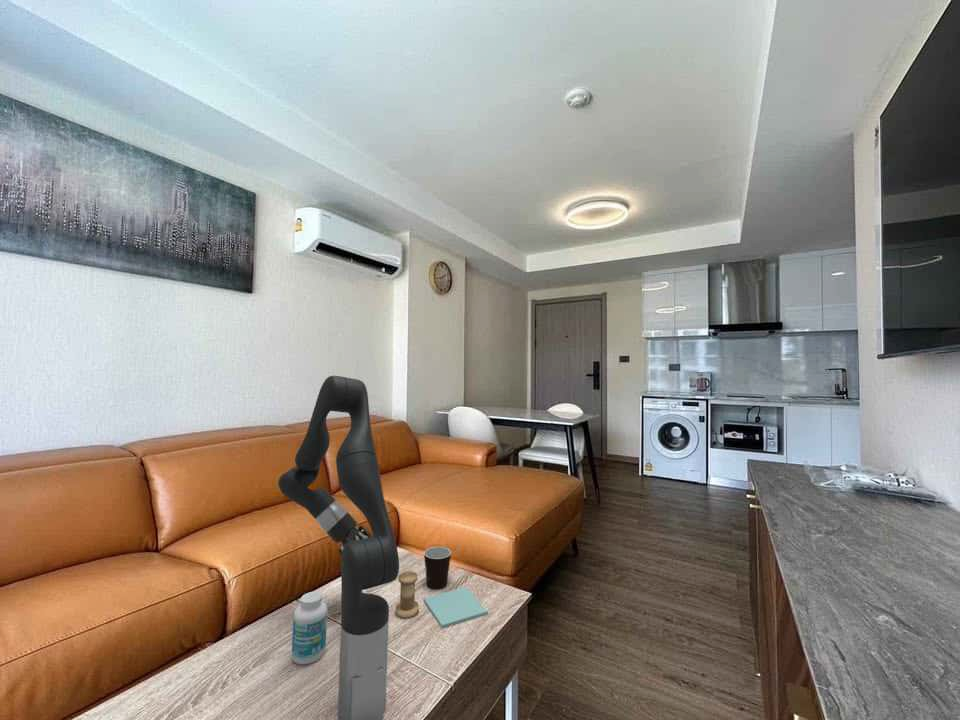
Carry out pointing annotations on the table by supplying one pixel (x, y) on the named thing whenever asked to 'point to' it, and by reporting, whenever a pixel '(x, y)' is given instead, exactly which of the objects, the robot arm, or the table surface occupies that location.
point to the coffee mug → (437, 567)
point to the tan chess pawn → (407, 596)
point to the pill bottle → (309, 629)
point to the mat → (454, 607)
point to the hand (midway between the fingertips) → (374, 563)
